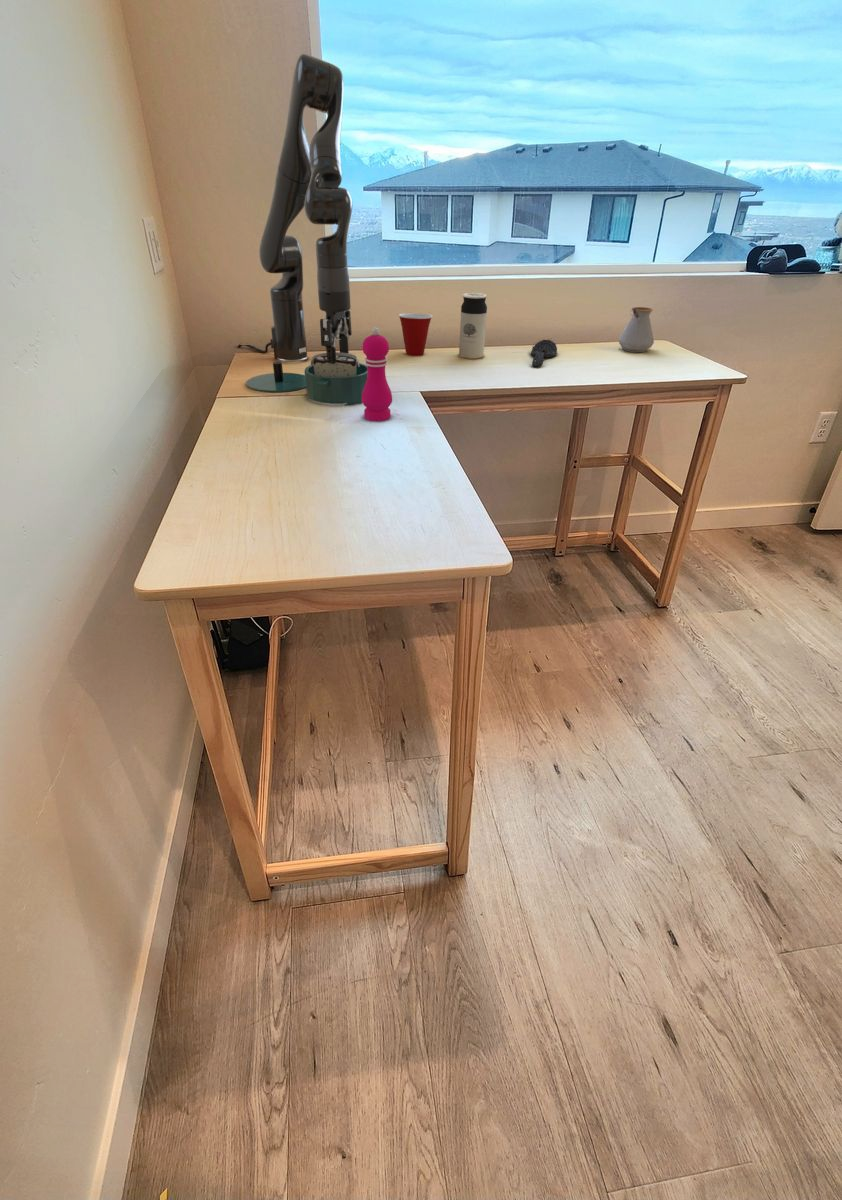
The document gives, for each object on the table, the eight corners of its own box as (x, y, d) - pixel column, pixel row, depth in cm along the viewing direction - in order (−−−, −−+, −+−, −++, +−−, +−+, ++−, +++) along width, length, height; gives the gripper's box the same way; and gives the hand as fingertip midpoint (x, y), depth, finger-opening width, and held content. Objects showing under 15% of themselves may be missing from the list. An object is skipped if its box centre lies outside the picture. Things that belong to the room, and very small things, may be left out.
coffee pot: (621, 344, 217) (630, 297, 208) (654, 348, 212) (665, 300, 204) (606, 357, 201) (615, 307, 192) (642, 361, 197) (652, 310, 188)
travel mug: (467, 352, 203) (470, 291, 193) (488, 355, 200) (492, 294, 189) (454, 356, 198) (456, 294, 188) (475, 360, 194) (479, 297, 184)
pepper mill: (396, 414, 149) (396, 325, 138) (385, 423, 144) (384, 332, 132) (369, 411, 151) (366, 323, 140) (357, 419, 146) (353, 329, 134)
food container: (364, 392, 163) (363, 352, 157) (360, 399, 158) (358, 358, 152) (318, 390, 164) (315, 350, 158) (313, 397, 159) (309, 356, 153)
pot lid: (234, 391, 163) (230, 368, 160) (265, 374, 177) (263, 352, 174) (295, 397, 159) (293, 374, 156) (322, 379, 173) (320, 357, 170)
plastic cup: (434, 351, 204) (436, 311, 197) (427, 359, 195) (428, 318, 188) (403, 349, 206) (403, 309, 199) (394, 356, 197) (394, 315, 190)
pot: (291, 405, 154) (289, 377, 150) (326, 382, 172) (324, 356, 168) (354, 411, 151) (352, 383, 147) (382, 387, 168) (382, 361, 164)
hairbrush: (523, 356, 188) (535, 335, 207) (522, 369, 190) (534, 347, 209) (550, 359, 186) (560, 338, 205) (549, 371, 188) (558, 349, 207)
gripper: (330, 283, 153) (334, 352, 162) (306, 291, 142) (313, 364, 151) (358, 284, 152) (361, 354, 161) (337, 293, 140) (341, 367, 149)
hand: (338, 359), depth 156 cm, fingers open, 8 cm apart
